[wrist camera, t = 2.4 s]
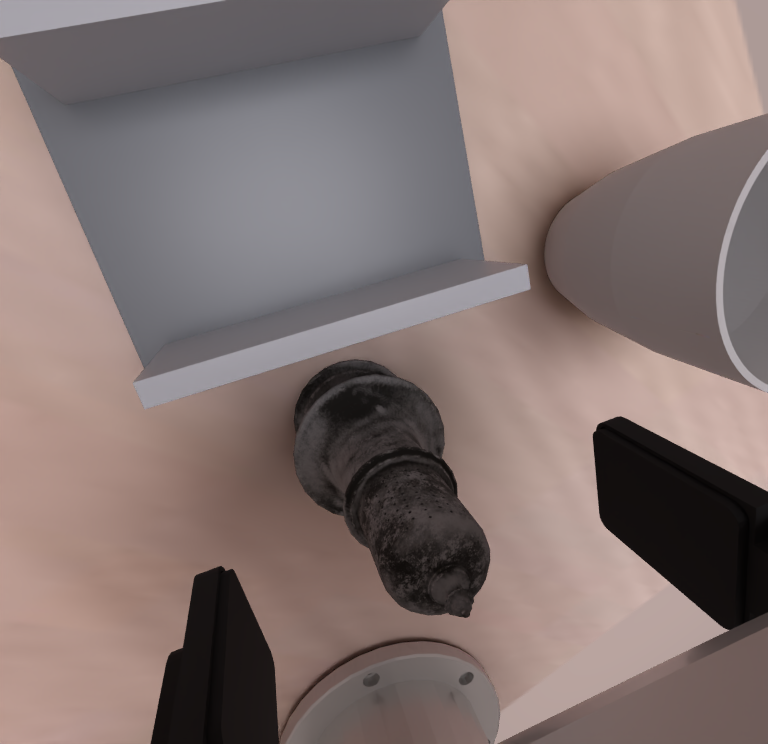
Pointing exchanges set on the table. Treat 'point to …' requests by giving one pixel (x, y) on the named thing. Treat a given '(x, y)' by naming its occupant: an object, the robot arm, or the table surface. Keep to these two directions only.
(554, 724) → the robot arm
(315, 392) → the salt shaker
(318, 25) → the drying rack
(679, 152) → the cup
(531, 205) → the table surface
